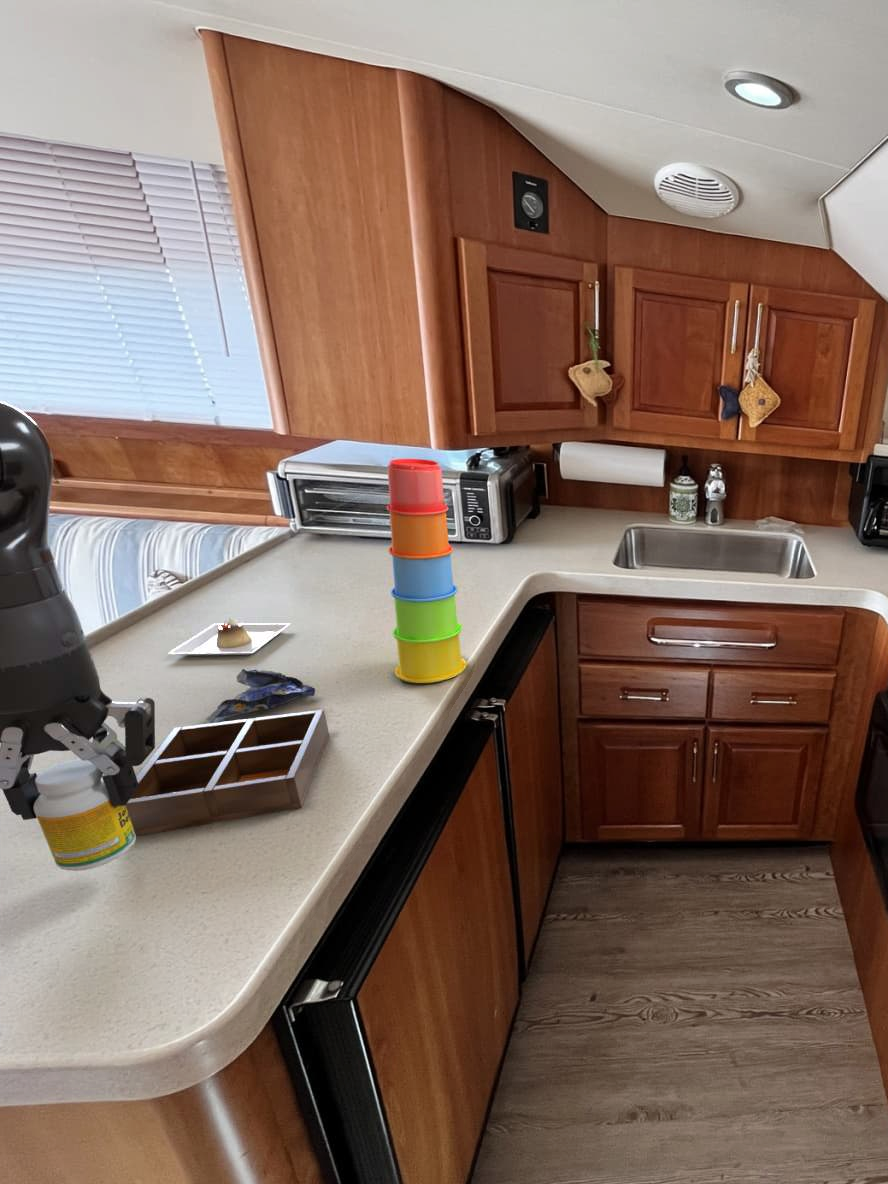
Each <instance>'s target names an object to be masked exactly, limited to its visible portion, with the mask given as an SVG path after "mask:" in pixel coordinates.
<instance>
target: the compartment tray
mask: <svg viewBox="0 0 888 1184" xmlns="http://www.w3.org/2000/svg"><path fill="white" fill-rule="evenodd" d="M325 713H326V712H325V709H317V710H316V709H315V710H308V711H300V712H291V713H284V714H277V715H268V716H267V715H266V716H260V717H252V718H250V717H249V718H244V719H235V720H227V721H220V722H213V723H210V722H209V723H204V724H196V725H195V724H194V725H188V726H187V725H186V726H180V727H174V728H173V729H172V730H171V732H169V734H168V735H167V737H166V738H164V740H163V742H161V744H160V745H159V746H158V748H157V749H156V750H155V751H154V753H153V754H152V755H151V757H150V758H149V759H148V761H147V762H146V763H145V764H144V766H143V767H142V768H141V769H140V771H139V772H138V773H137V775H136V778H137V781H138V784H139V787H138V790H137V791H136V793H135V794H134V795H133V797H132V798H131V799H130V800H129V801H128V802H127V804H126V805H125V806H126V809H127V812H128V815H129V817H130V820H131V823H132V826H133V829H134V832H135V835H136V837H140V836H145V835H146V836H147V835H151V834H155V833H162V832H168V831H173V830H180V829H185V828H192V827H196V826H197V827H198V826H203V825H208V824H215V823H219V822H225V821H232V820H236V819H237V820H238V819H243V818H249V817H255V816H260V815H265V814H272V813H277V812H282V811H289V810H295V809H301V808H302V807H303V805H304V802H305V800H306V796H307V794H308V793H309V792H308V791H310V790H309V789H310V787H311V784H312V782H313V780H314V777H315V774H316V772H317V769H318V767H319V764H320V762H321V759H322V756H323V754H324V751H325V749H326V746H327V744H328V741H329V738H330V732H329V727H328V723H327V718H326V714H325Z"/></svg>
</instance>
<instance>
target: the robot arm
mask: <svg viewBox="0 0 888 1184" xmlns="http://www.w3.org/2000/svg"><path fill="white" fill-rule="evenodd" d="M53 458H54V457H53V453H52V449H51V446H50V442H49V440H48V438H47V436H46V434H45V433H44V432H43V430H42V429H41V427H40V426H39V425H38V424H37V422H35V421H34V420H33V419H32V418H31V417H30V416H28V415H27V414H26V413H25V412H24V411H22V410H20V409H19V408H17V407H15V406H13V405H11V404H8V403H6V402H3V401H0V789H1V790H2V792H3V794H4V797H5V799H6V801H7V802H8V803H7V804H8V806H9V808H10V810H11V812H12V813H13V814H15V815H16V816H21V819H22V820H24V821H29V820H35V819H36V820H37V817H36V814H35V812H34V803H35V801H36V799H37V798H38V797H39V796H40V795H41V794H40V793H39V792H38V788H37V786H36V783H35V779H36V777H37V776H38V774H37V772H32V773H31V772H30V770H31V767H32V764H33V761H34V756H35V755H40V754H44V753H47V752H68V751H71V752H72V753H73V754H74V755H75V756H77V758H78V759H81V760H84V761H86V760H88V761H90V762H91V763H92V764H94V765H95V766H96V767H97V768H98V769H99V770H100V771H102V772H103V776H102V778H103V781H104V784H105V787H106V789H107V792H108V795H109V798H110V800H111V803H112V806H113V807H118V806H124V805H126V804H127V802H128V801H129V800H130V799H131V798H132V797H133V795H134V794H135V793H136V791H137V790H138V787H139V784H138V781H137V778H136V776H137V775H136V773H135V768H134V767H138V766H141V765H142V764H143V763H144V762H145V761H146V760H147V758H148V757H149V756H150V754H151V753H152V752H153V751H154V750H155V748H156V709H155V708H156V704H155V703H156V702H155V700H154V699H153V698H150V697H141V698H139V699H138V700H137V701H136V702H128V701H127V702H125V701H113V700H112V698H110V697H109V696H108V695H106V694H105V693H104V692H103V690H102V689H101V684H100V683H101V682H100V677H99V673H98V671H97V667H96V664H95V662H94V658H93V656H92V653H91V650H90V647H89V644H88V641H87V638H86V636H85V633H84V629H83V625H82V624H81V620H80V618H79V615H78V612H77V610H76V608H75V606H74V604H73V602H72V601H71V599H70V598H69V595H68V594H67V592H66V589H65V587H64V584H63V581H62V578H61V575H60V573H59V569H58V566H57V564H56V560H55V558H54V554H53V552H52V549H51V546H50V508H51V507H50V505H51V494H52V485H53V476H54V459H53ZM108 717H112V718H114V719H115V720H116V723H117V724H118V725H117V726H118V727H119V728H121V729H123V728H124V744H122V742H121V741H119V740H118V734H117V732H115V730H114V729H112V728H111V727H110V726H109V725H108V724H107V723H106V722H105V721H106V720H107V718H108ZM91 739H92V741H90V740H91Z"/></svg>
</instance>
